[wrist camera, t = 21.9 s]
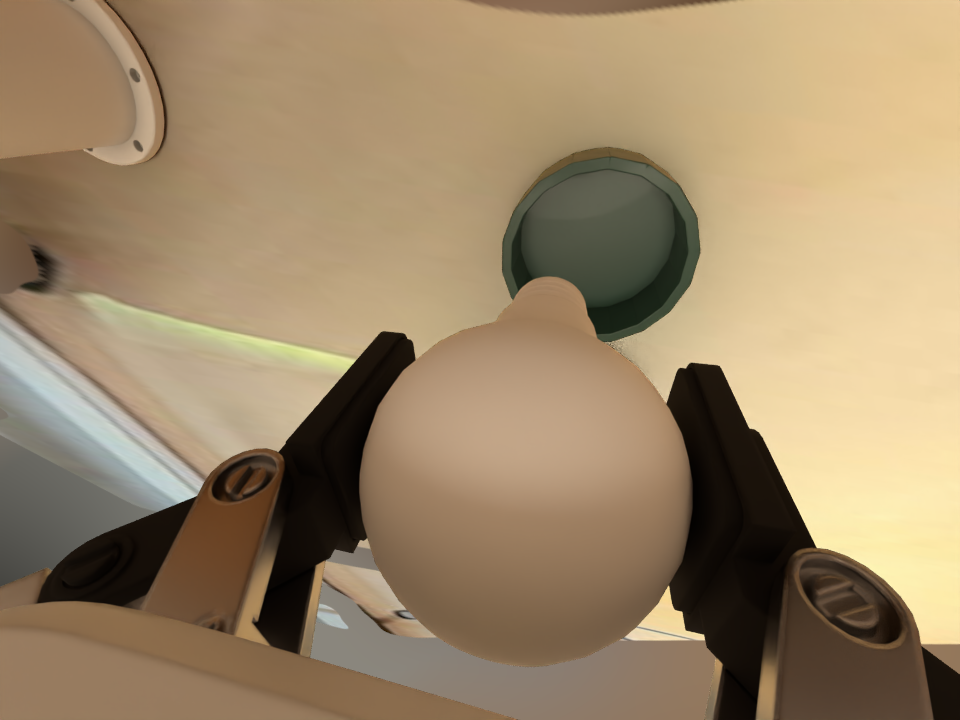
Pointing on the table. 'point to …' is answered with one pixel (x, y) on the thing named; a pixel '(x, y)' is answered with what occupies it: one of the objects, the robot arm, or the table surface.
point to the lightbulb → (527, 486)
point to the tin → (606, 238)
